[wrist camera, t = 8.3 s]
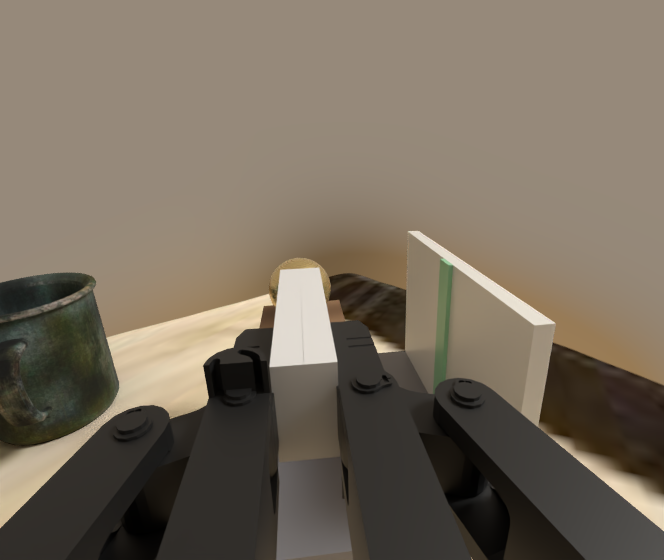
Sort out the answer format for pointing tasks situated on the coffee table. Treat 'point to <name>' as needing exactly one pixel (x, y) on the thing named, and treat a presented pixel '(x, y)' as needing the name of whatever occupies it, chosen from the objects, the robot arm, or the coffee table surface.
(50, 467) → the coffee table surface
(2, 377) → the mug
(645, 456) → the coffee table surface
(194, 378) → the coffee table surface
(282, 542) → the stand
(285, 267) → the slider
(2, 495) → the coffee table surface
